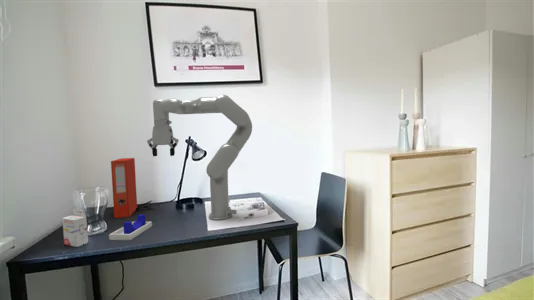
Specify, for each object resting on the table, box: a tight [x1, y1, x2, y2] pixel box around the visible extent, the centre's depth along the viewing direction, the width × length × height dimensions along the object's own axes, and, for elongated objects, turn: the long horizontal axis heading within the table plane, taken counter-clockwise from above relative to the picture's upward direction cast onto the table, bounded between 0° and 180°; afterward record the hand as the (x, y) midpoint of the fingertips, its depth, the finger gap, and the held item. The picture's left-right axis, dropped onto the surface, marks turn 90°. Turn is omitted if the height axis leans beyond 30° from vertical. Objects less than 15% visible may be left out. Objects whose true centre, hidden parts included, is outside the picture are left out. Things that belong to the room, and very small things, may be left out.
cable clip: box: [123, 214, 147, 234], centre depth 125 cm, size 12×4×6 cm, turn 173°
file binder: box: [110, 157, 138, 219], centre depth 156 cm, size 8×17×32 cm, turn 13°
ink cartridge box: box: [61, 207, 89, 248], centre depth 113 cm, size 9×5×15 cm, turn 70°
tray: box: [108, 221, 153, 241], centre depth 124 cm, size 10×17×2 cm, turn 173°
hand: (163, 155), depth 141 cm, fingers open, 9 cm apart
